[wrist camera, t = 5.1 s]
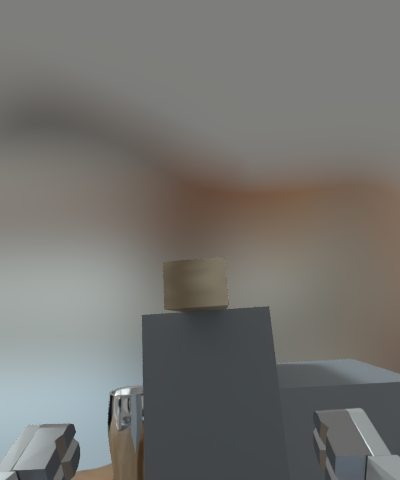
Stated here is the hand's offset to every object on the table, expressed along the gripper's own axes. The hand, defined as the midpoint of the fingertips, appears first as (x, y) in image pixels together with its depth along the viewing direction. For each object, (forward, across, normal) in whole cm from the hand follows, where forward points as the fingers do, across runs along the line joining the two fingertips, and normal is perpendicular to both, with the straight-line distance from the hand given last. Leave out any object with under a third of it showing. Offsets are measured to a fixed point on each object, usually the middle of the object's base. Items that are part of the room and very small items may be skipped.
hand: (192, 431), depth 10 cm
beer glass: (+24, -14, -39) cm, 48 cm away
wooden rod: (+19, 0, -6) cm, 20 cm away
